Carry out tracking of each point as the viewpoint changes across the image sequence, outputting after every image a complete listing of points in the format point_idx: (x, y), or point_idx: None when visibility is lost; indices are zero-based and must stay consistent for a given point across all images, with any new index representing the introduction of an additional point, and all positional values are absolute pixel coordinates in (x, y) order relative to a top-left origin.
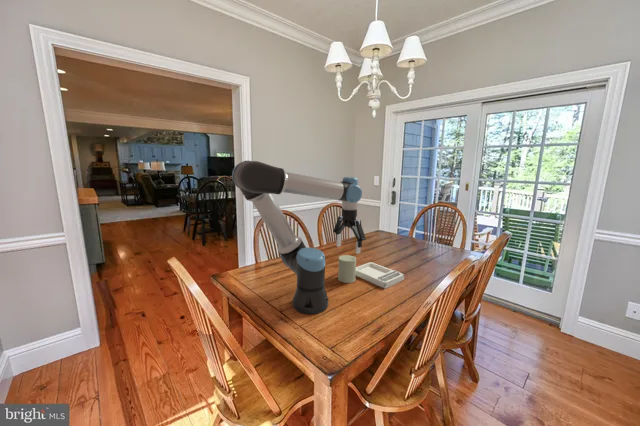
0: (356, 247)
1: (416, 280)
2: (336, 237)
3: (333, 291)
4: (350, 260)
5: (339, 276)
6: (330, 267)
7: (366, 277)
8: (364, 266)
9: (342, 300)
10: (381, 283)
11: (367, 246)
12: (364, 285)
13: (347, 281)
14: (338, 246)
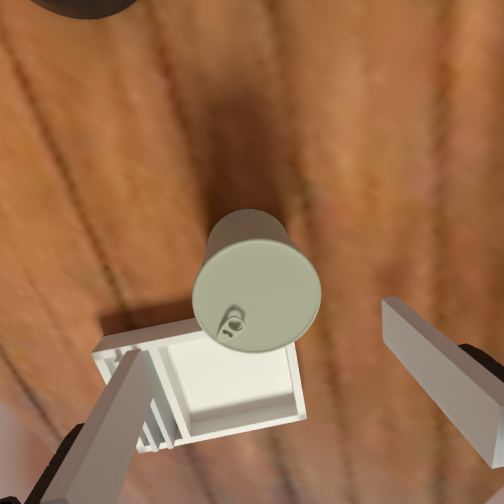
0: (104, 403)
1: None
2: (492, 367)
3: (160, 117)
4: (211, 296)
5: (252, 214)
6: (394, 250)
7: (198, 324)
8: (290, 374)
9: (60, 107)
10: (116, 342)
11: (467, 488)
12: (161, 283)
13: (212, 232)
14: (382, 312)
